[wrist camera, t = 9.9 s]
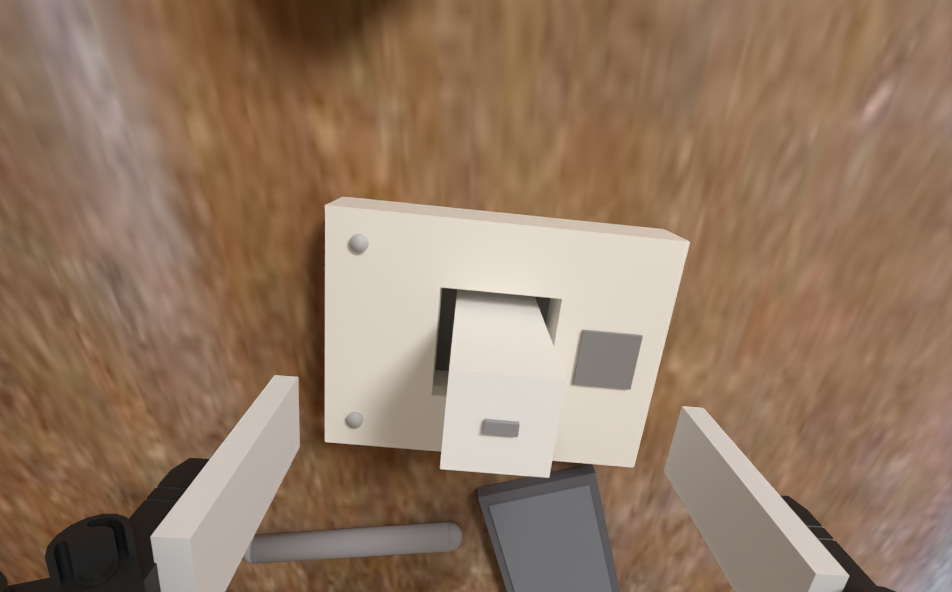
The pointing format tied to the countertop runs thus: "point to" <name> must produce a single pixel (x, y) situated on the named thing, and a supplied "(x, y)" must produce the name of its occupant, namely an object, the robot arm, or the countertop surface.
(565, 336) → the outlet plate
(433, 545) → the grey rod
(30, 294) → the countertop surface
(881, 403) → the countertop surface
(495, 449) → the charger block
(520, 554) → the phone slab
